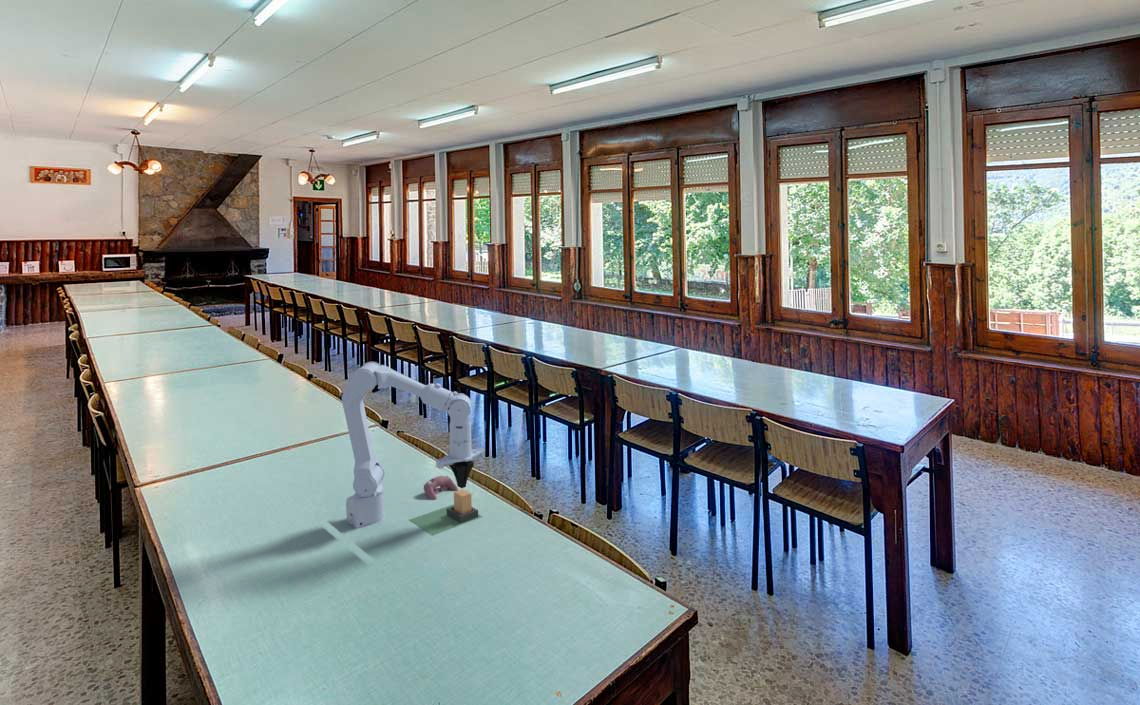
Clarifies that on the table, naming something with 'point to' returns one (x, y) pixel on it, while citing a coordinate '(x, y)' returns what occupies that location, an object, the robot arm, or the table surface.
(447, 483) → the video game controller
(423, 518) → the board
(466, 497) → the plug
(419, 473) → the table surface
